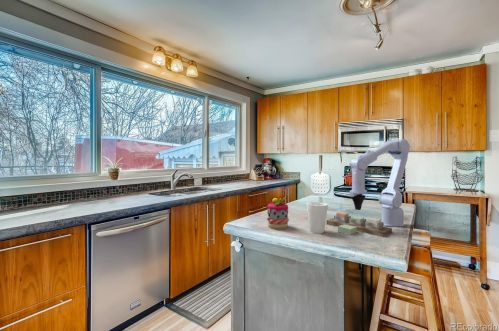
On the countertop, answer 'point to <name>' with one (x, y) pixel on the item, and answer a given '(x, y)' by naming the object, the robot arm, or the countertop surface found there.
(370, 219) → the cream button
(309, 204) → the foam cup
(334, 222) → the button console
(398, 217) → the robot arm
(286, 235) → the countertop surface
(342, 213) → the terracotta button
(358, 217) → the sage button
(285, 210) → the cake
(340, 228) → the block
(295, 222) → the countertop surface
